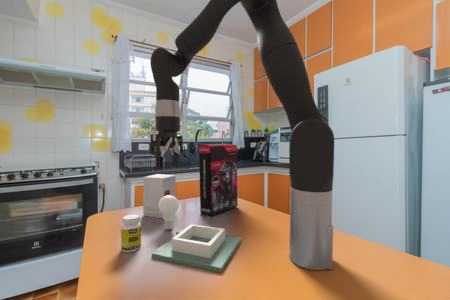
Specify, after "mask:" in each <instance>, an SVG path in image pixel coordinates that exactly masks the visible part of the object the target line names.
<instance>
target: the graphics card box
mask: <svg viewBox="0 0 450 300" xmlns="http://www.w3.org/2000/svg"><path fill="white" fill-rule="evenodd" d="M237 148H238V146H237V144H234V143H233V144H232V143H231V144H230V143H219V144H218V143H215V144H214V143H210V144H209V143H208V144H207V143H205V144H198V159H199V162H198V163H199V164H198V165H199V166H198V168H199V200H200V201H199V203H200V204H199V206H200V207H199V210H200V214H201V215H205V216H208V217H213V216H217V215H219V214H220V213H221V214H222V213H223V212H224V213H225V212H227V211H228V210H232V209H234V208H236V207H238V159H237V155H238V152H237V151H238V150H237Z"/></svg>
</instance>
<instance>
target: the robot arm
mask: <svg viewBox="0 0 450 300" xmlns="http://www.w3.org/2000/svg"><path fill="white" fill-rule="evenodd" d="M239 3H240V4H241V6H242V8H243V9H244V10H245V12H246V14H247V16H248V18H249V19H250V21H251V24H252V26H253V28H254V30H255V34H256V39H257V48H258V53H259V54H258V55H259V58H260V61H261V64H262V67H263V70H264V72H265V76H266V77H267V80H268V82H269V84H270V86H271V88H272V90H273V92H274V93H275V95H276V97H277V98H278V100H279V102H280V103H281V105H282V107H283V109H284V112H285V114H286V117H287V120H288V123H289V127H290V131H291V132H290V135H289V145H288V146H289V151H288V153H289V155H288V157H289V160H288V161H289V165H288V167H289V168H288V169H289V170H288V171H289V179H290V187H289V188H290V190H289V191H290V193H289V195H290V198H289V199H290V201H289V203H290V204H289V207H290V208H289V247H288V249H289V253H288V254H289V256H288V257H289V258H290V260H291V262H292V263H294V264H295V265H297V266H298V267H300V268H303V269H306V270H311V271H325V270H333V259H334V258H333V256H334V255H333V254H334V253H333V252H334V248H333V247H334V226H333V223H332V222H333V186H334V185H333V181H334V174H335V173H334V169H335V168H334V166H335V135H334V132H333V129H332V128H331V127H330V125H329V124H327V123H326V122H325V121H324V119H323V117H322V114H321V113H320V110H319V108H318V107H317V105H316V102H315V100H314V97H313V96H314V95H313V92H312V89H311V84H310V80H309V75H308V71H307V68H306V64H305V61H304V59H303V56H302V54H301V51H300V49H299V46H298V44H297V41H296V39H295V37H294V35H293V33H292V32H291V30H290V29H289V27H288V26H287V24H286V22H285V21H284V19H283V17H282V14H281V12H280V8H279V5H278V1H277V0H209V1H208V3H207V4H206V5H205V6H204V8H202V11H201V12H200V13H199V14H198V15H197V16H196V17H195V18H194V19H193V21H191V23H190V24H188V25H187V26H186V27H185V28H184V29H183V30H182V31H181V32H180V33H179V34H178V35H177V36H176V37H175V39H174V43H175V47H176V48H177V50H176V51H175V52H173V51H170V50H169V49H167V48H166V47H157V48H155V49H154V50H153V52H152V54H151V56H150V69H151V72H152V73H151V74H152V78H153V81H154V84H155V88H156V91H155V93H156V94H155V97H156V99H155V100H156V102H155V108H154V109H155V110H154V111H155V115H154V117H155V131H156V132H158V133H152V134H151V135H150V151H149V154H150V155H151V156H154V157H155V168H156V170H164V165H165V163H164V162H165V160H164V158H165V157H164V155H165V153H166V152H167V151H168V150H169V151H170V152H171V154H172V155H171V165H172V167H175V168H176V167H179V165H180V155H181V154H183V153H184V140H183V139H184V138H183V135H180V134H178V132H180V131H181V107H180V105H181V104H180V86H179V85H178V83H176V81H175V80H174V79H173V78H177V77H178V76H181V75H182V74H183V73H185V70H186V69H187V68H188V66H189V65H190V63H191V62H192V60H193V58H194V57H195V56H196V55H197V54H198V53H200V51H202V50H203V49H204V48H205V47H206V46H207V45H208V44H210V42H211V41H212V39H213V38H214V36H215V35H216V34H217V33H216V32H217V31H218V28H219V26H220V24H221V23H222V21H223V19H224V18H225V16H226V15H227V14H228V13H229V12H230V11H231V9H233V8H234V6H236V5H237V4H239Z"/></svg>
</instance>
